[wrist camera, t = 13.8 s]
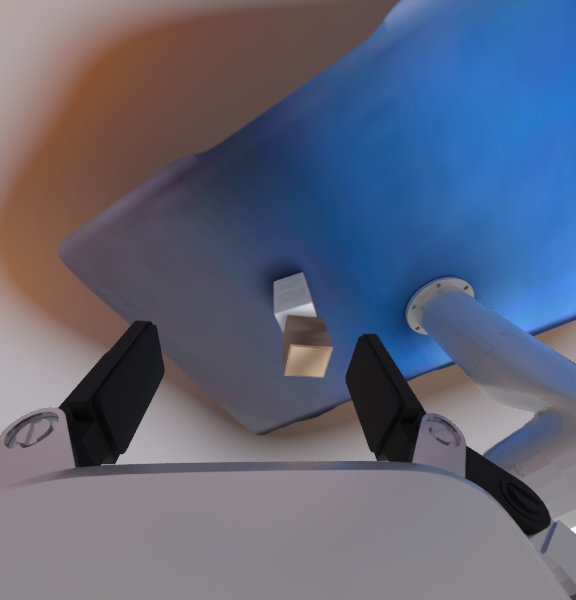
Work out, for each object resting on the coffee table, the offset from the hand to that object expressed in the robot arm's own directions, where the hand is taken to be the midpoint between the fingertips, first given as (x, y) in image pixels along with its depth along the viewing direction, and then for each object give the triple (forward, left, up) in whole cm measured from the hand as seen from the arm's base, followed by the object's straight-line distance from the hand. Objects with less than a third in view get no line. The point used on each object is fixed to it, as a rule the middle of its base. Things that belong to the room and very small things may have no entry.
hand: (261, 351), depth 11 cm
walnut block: (-6, +12, -18) cm, 22 cm away
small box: (-6, +12, -29) cm, 32 cm away
